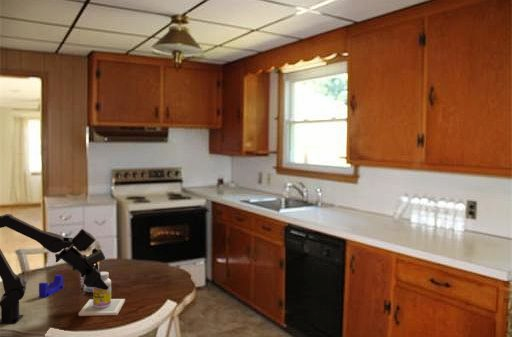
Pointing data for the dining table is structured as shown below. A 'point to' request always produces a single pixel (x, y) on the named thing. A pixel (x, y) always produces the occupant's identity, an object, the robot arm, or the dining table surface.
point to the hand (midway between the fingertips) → (106, 285)
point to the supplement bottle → (102, 293)
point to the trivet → (109, 310)
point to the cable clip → (51, 287)
